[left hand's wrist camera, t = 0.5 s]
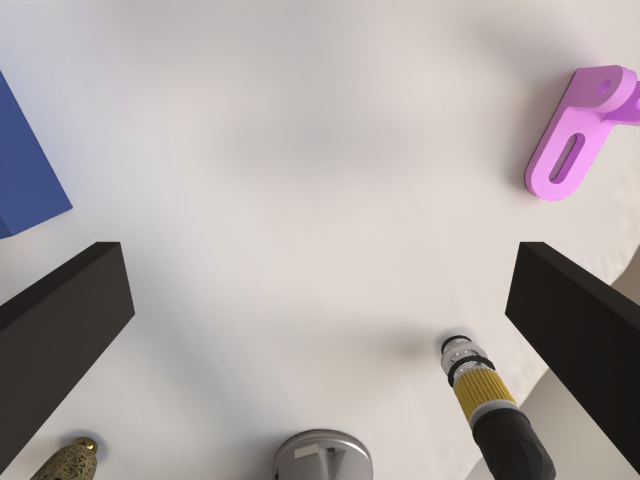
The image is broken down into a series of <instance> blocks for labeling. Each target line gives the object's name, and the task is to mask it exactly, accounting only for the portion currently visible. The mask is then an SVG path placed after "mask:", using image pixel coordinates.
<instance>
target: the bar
mask: <svg viewBox="0 0 640 480" xmlns="http://www.w3.org/2000/svg"><path fill="white" fill-rule="evenodd" d="M72 208H73V207H72V205H71V203H70V202H69V200H68V198H67V196H66V194H65V192H64V190H63V188H62V186H61V185H60V183H59V181H58V179H57V177H56V175H55V173H54V171H53V169H52V168H51V166H50V164H49V162H48V160H47V158H46V156H45V154H44V152H43V151H42V149H41V147H40V145H39V143H38V141H37V139H36V137H35V135H34V134H33V132H32V130H31V128H30V126H29V124H28V122H27V120H26V118H25V117H24V115H23V113H22V111H21V109H20V107H19V105H18V103H17V101H16V100H15V98H14V96H13V94H12V92H11V90H10V88H9V86H8V84H7V83H6V81H5V79H4V77H3V75H2V73H1V71H0V239H3V238H7V237H11V236H14V235H16V234H18V233H20V232H23V231H25V230H27V229H29V228H31V227H33V226H35V225H38V224H40V223H42V222H44V221H46V220H48V219H51V218H53V217H55V216H57V215H59V214H61V213H63V212H66V211H68V210H70V209H72Z"/></svg>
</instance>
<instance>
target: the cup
mask: <svg viewBox="0 0 640 480" xmlns="http://www.w3.org/2000/svg"><path fill="white" fill-rule="evenodd" d="M96 453H97V444H96V443H95V442H94V441H93V440H92V439H89V438H80V439H78V440H76V441H75V442H73V444H72V445H69V446H66V447H63V448H61V449H60V450H58V451H57V452H56V453H54V454H53V455H52V456H51V457H50V458H49V459H48V460H47V461H46V462H45V463H44V465H43V466H42V467H41V468H40V469H39V470H38V471H37V472H36V473H35V474H34V476H33V477H32V478H31V479H30V480H92V479H93V477H94V474H95V471H96V467H97V459H96V456H95V455H96Z"/></svg>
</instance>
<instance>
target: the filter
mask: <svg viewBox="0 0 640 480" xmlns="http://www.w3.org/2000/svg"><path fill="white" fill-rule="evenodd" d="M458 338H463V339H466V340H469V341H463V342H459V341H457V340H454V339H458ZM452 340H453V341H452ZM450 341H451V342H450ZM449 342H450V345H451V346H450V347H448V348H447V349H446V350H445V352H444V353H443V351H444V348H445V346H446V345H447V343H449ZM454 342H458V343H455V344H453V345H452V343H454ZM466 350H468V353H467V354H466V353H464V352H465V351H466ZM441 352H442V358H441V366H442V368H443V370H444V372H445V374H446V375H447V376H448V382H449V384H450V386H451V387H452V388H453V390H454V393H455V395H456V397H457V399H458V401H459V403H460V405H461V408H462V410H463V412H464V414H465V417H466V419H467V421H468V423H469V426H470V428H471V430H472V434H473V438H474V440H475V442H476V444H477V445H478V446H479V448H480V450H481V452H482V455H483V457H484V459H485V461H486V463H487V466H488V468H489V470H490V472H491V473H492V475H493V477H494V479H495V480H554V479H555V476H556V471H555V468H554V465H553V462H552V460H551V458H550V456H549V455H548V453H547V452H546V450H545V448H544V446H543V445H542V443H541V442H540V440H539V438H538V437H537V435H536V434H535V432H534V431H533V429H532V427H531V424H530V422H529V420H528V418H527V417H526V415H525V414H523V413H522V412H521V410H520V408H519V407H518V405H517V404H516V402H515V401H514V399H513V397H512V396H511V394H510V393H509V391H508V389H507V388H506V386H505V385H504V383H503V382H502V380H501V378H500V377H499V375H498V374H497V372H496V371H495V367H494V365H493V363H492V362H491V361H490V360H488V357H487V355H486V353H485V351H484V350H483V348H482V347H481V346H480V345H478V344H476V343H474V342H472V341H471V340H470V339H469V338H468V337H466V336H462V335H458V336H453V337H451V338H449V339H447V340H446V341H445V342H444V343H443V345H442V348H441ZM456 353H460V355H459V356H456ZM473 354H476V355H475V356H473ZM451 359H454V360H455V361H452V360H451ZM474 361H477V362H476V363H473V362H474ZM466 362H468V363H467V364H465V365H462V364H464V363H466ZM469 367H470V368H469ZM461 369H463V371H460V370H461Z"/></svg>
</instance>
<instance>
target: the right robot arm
mask: <svg viewBox="0 0 640 480" xmlns="http://www.w3.org/2000/svg"><path fill="white" fill-rule="evenodd" d="M273 480H373V469H372V462H371V457H370V454H369V452H368V451H367V449H366V448H365V447H364V445H363V444H362V443H360V442H359V441H358V440H356V439H355V438H353V437H351V436H349V435H347V434H344V433H341V432H337V431H331V430H315V431H309V432H305V433H302V434H299V435H297V436H295V437H293V438H291V439H289V440H288V441H287V442H286V443H284V444H283V445H282V446H281V448H280V449H279V450H278V452H277V454H276V457H275V460H274V468H273Z"/></svg>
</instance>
